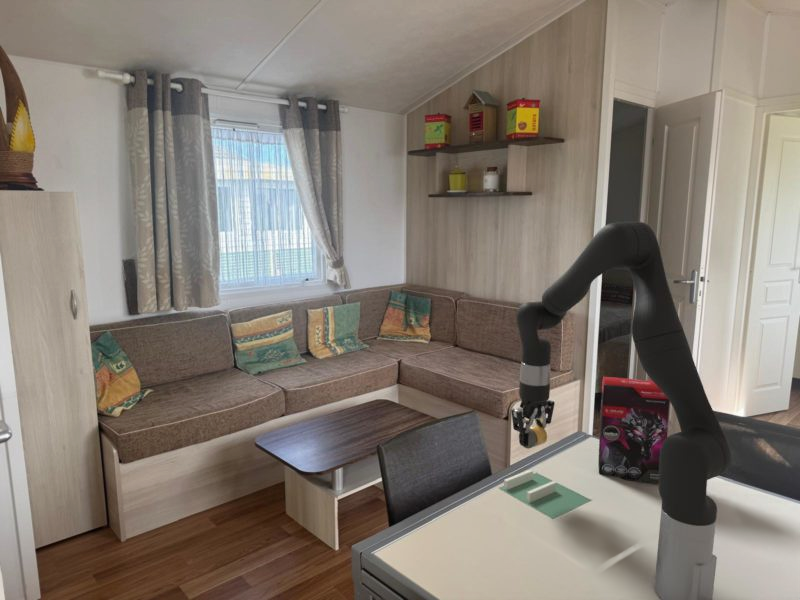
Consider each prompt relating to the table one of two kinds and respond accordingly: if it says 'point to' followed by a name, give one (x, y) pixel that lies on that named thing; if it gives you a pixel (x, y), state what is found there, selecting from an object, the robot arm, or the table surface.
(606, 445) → the graphics card box
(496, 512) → the table surface
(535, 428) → the amber plug
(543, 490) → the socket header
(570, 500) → the green board
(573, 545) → the table surface
